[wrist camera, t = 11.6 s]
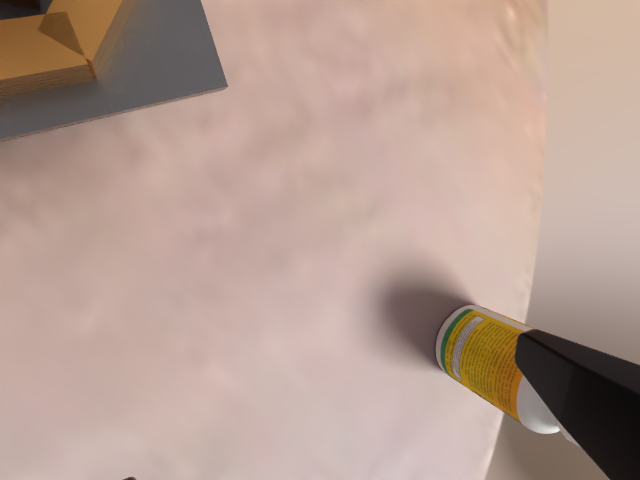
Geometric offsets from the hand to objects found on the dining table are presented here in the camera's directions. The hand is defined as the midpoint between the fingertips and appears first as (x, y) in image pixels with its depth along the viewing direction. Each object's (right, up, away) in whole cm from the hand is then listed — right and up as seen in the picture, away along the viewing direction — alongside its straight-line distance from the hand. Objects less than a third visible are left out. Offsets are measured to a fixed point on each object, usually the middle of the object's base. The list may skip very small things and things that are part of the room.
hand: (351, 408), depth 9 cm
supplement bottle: (+9, -3, +19) cm, 21 cm away
